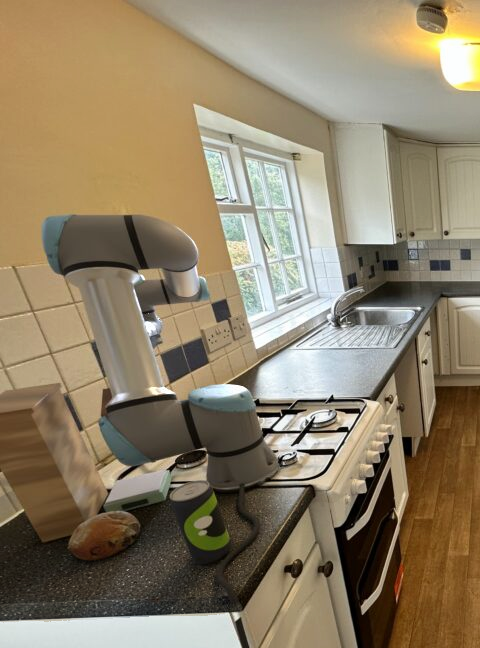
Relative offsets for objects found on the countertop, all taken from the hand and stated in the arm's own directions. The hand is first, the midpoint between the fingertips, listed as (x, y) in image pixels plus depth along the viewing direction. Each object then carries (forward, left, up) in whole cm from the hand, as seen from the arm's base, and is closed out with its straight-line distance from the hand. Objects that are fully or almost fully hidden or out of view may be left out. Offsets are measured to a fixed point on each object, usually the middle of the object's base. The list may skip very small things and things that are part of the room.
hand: (115, 359), depth 98 cm
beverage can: (-49, +1, -29) cm, 57 cm away
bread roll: (-30, +13, -29) cm, 44 cm away
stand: (-14, +16, -28) cm, 36 cm away
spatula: (-1, 0, -5) cm, 5 cm away
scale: (-16, +6, -28) cm, 33 cm away
